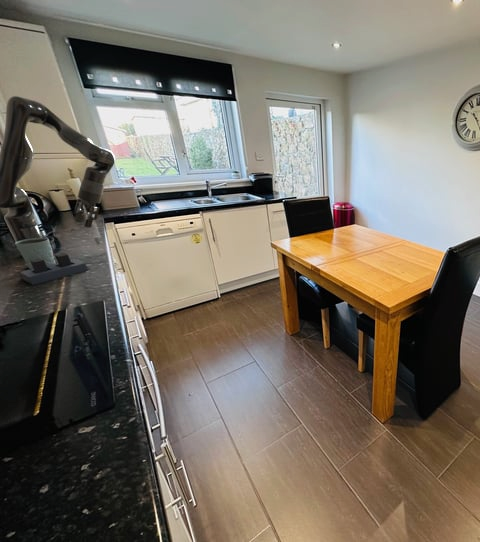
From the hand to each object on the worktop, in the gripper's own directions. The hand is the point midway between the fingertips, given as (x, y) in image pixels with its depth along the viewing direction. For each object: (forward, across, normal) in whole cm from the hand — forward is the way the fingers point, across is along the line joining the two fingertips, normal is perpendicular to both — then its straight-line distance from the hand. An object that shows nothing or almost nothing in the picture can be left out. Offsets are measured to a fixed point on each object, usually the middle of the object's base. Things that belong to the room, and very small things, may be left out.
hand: (82, 224), depth 129 cm
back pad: (+20, -8, +4) cm, 22 cm away
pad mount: (+22, -8, +8) cm, 25 cm away
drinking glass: (+25, +10, +6) cm, 27 cm away
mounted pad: (+23, -8, +11) cm, 27 cm away
